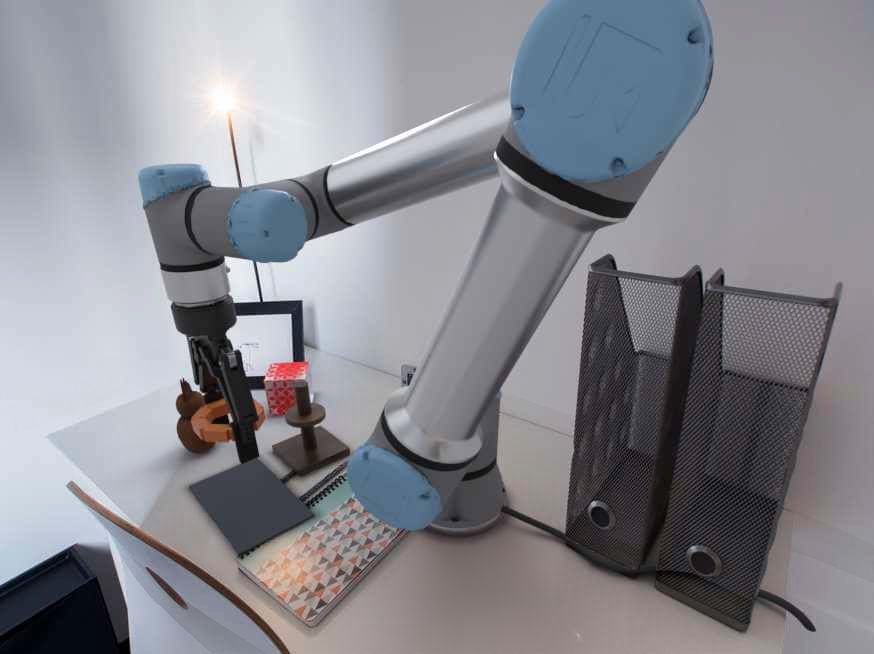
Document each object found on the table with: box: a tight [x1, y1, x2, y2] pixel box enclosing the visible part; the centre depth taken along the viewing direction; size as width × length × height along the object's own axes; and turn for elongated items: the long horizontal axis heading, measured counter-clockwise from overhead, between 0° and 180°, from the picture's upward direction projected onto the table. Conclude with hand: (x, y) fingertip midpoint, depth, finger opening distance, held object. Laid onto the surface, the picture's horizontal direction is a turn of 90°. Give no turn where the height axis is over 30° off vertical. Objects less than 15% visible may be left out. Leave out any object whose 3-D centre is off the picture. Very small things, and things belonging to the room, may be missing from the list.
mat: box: [188, 457, 316, 556], centre depth 83 cm, size 20×12×1 cm, turn 40°
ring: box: [191, 398, 266, 443], centre depth 76 cm, size 9×9×2 cm
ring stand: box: [271, 381, 351, 478], centre depth 91 cm, size 10×10×14 cm
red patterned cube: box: [263, 361, 315, 417], centre depth 108 cm, size 8×8×8 cm
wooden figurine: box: [175, 377, 217, 455], centre depth 93 cm, size 7×6×15 cm
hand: (235, 444), depth 78 cm, fingers closed on ring, 9 cm apart
